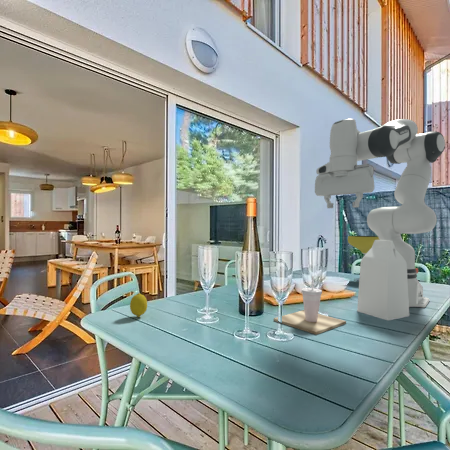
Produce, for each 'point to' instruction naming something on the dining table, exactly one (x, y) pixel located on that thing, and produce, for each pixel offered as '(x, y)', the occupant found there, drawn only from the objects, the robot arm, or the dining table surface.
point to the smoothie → (311, 302)
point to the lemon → (138, 305)
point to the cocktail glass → (362, 243)
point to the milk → (383, 282)
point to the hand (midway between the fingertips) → (342, 207)
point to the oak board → (316, 327)
